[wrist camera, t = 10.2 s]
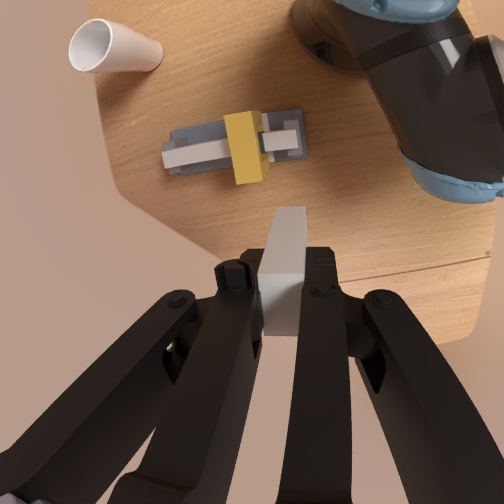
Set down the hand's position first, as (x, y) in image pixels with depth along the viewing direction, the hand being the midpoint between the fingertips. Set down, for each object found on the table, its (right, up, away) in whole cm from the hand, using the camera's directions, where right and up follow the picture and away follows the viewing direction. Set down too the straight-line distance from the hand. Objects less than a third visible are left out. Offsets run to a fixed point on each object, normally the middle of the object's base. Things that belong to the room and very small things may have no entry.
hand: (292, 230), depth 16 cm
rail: (-4, +15, +25) cm, 29 cm away
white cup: (-18, +28, +21) cm, 39 cm away
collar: (-2, +14, +23) cm, 27 cm away
